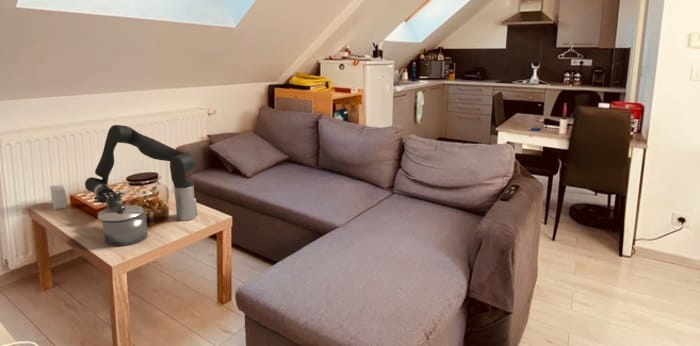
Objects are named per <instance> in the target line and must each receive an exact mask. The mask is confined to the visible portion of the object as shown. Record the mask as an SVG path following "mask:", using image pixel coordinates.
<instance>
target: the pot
mask: <svg viewBox="0 0 700 346" xmlns="http://www.w3.org/2000/svg"><path fill="white" fill-rule="evenodd" d="M101 223H102V232H103V238H104V243H105V244H106V245H107V246H111V247H127V246H132V245H136V244H139V243H141V242H143V241H145V240H146V239H147V238H148V237H149V234H148V232H149V231H148V225H147V224H148V223H147V215H146V212H144V213H143V214H142V215H141V216H139V217H137V218H134V219H131V220H127V221H121V222H104V221H101Z"/></svg>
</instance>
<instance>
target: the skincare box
mask: <svg viewBox="0 0 700 346" xmlns="http://www.w3.org/2000/svg"><path fill="white" fill-rule="evenodd" d="M49 190H50V194H51V202H52V209H53V210H61V209H66V208H68V204H67V196H66V190H65V186H64V184H58V185H57V184H56V185H50V186H49Z"/></svg>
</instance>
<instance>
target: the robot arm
mask: <svg viewBox="0 0 700 346" xmlns="http://www.w3.org/2000/svg"><path fill="white" fill-rule="evenodd" d="M118 143H119V144H128V145H131V146H133V147H136V148H137V149H138V151H139V152H140V153H141V154H142V155H144V156H146V157H148V158H150V159H153V160H158V161H164V162H165V161H166V162H169V169H170V176H171V177H170V178H171V180H172V183H173V190H174V198H175V199H174V200H175V202H174V203H175V210H176V219H177V220H178V221H182V222H183V221H185V222H186V221H192V220H193V219H196V217H197V216H198V207H197V204H198V203H197V198H195V188H194V180H193V179H192V178H189V177H187V173H188V172H190V171H193V170H194V169H195V168H196V166H197V162H196V159H195V158H194V156H192V155H191V154H190V153H188V152H185V151H182V150H178V149H176V148H173V147H171V146H169V145H167V144H164V143H162V142H160V141H158V140H156V139H155V138H152V137H149V136H147V135H144V134H142V133H140V132H138V131H136V130H135V129H134V128H132V127H130V126H127V125H121V124H114V125H111V126H110V128H109V129H108V132H107V134H106V139H105V142H104V146H103V150H102V154H101V156H100V159H99V162H98V164H97V166H96V168H95V171H94V174H95V175H96V176H97V177H95V176H94V177H91V176H90V177H88V178H87V179H86V180H85V182H84V186H85V188H86V190H87V191H88V192H91V193H93V194H94V198H93V199H94V202H95V203H101V204H106V200H105V199H110V198H115V197H120V198H121V199H122V193H121V191H120V192H118V193H117V192H115V191H114V189H112V188H111V187H110V186H109V185H108V184H109V177H110V174H111V173H112V170H113V167H114V165H115V154H114V153H115V152H114V151H115V149H116V146H117V145H118ZM98 177H99V178H98Z"/></svg>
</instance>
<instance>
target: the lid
mask: <svg viewBox="0 0 700 346" xmlns="http://www.w3.org/2000/svg"><path fill="white" fill-rule="evenodd" d="M105 200H106V203H105V206H106V208H104V209H102V210H101V211H99V212H98V213H97V218H98V220H99V221H101V222H102V221H104V222H121V221H127V220H131V219H134V218H137V217H139V216H141V215H142V214H143V213H145V212H144V209H145V208H144V207H143V206H140V205H138V204H135V205H127V204H124V203H123V199H122V198H120V197H115V198H110V199H105Z"/></svg>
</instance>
